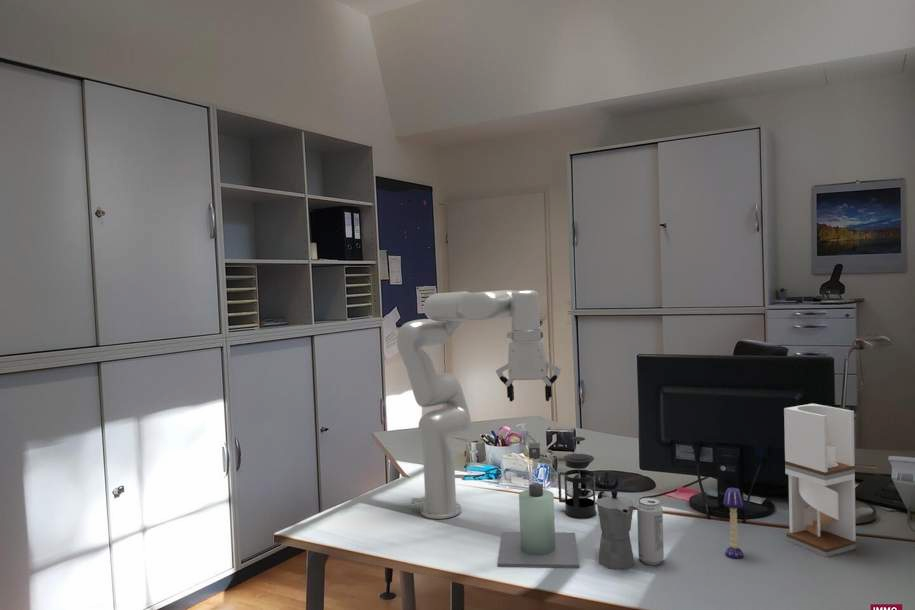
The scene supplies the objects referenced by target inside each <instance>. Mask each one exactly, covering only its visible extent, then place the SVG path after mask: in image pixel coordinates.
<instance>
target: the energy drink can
mask: <svg viewBox="0 0 915 610" xmlns="http://www.w3.org/2000/svg"><path fill="white" fill-rule="evenodd" d="M636 510H637V511H636V512H637V516H636V517H637V545H638V546H637V547H638V549H637V551H638V558H639V559H640V561H641V562H642V563H643V564H647V565H653V566H655V565H659V564H661V563H662V561H663V560H664V559H665V555H664V554H665V553H664V548H665V547H664V521H663V520H664V519H663V518H664V517H663V515H664V513H663V507H662V505H661V503H660V500H659V499H658V498H653V497H642V498H641V499H639V502H638V505H637V508H636Z"/></svg>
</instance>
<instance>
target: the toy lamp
mask: <svg viewBox="0 0 915 610" xmlns="http://www.w3.org/2000/svg"><path fill="white" fill-rule="evenodd" d="M723 505H724V506H725V507H728V508H729V511H730V512H729V522H730V524H729V529H730V531H729V534H730V537H729V538H730V540H729V541H730V546H729V547H727V548H726V549H725V553H724V554H725V556H726V558H727V557H728V558H730V559H737V560H738V559H742V558H744V552H743V550H741V548H739V544H738V543H739V542H738V540H739V537H738V535H739V531H738V512H737V511H738V509H740V508H743V507H744V500H743V497H742V494H741V491H740V489H739V488H737V487H729V488H728V487H727V489H726V490H725V494H724V499H723Z"/></svg>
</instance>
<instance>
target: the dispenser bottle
mask: <svg viewBox="0 0 915 610" xmlns="http://www.w3.org/2000/svg"><path fill="white" fill-rule="evenodd" d="M543 486H544V485H543V484H542V483H536V482H535V483H530V484H529V485H528V489H524V490H522V491H521V492H519V494H518V503H519V504H518V506H519V507H518V509H519V530H520V531H502V532H501V538H500V544H499V550H498V557H497V563H496V565H497V567H501V568H503V567H504V568H508V567H509V568H546V569H547V568H551V569H552V568H553V569H556V568H557V569H579V568H580V564H579V556H578V555H579V553H578V548H577V539H576V533H575V532H565V531H563V532H559V531H558V532H557V531H555V530H556V528H555V502H554V501H555V500H554V498H555V497H554V493H553V492H552V491H550V490H548V489H544V487H543Z"/></svg>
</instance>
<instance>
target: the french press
mask: <svg viewBox="0 0 915 610" xmlns="http://www.w3.org/2000/svg"><path fill="white" fill-rule="evenodd" d="M570 440H571V441H574V442H575V441H576V444H577V453H569V454H566V455H565V456H563V460H564V461H565V463H564V465H565V467H567V468H571V469H570V470H566V471H560V472H558V474H557V480H558V482H557V483H558V502H559V503H563V504H564V505H565V510H564V514H565V516H567V517H568V518H571V519H577V520H578V519H579V520H585V519H592V518H594V517H596V516H597V512H598V511H597V510H596V506H597V503H596V483H595V482H596V481H595V479H596V477H595V472H593V471H592V470H587V468H588V467H589V465H590V464H591V463H592V462H593V461H594V460H595V457H594V456H593V455H591V454H586V453H580V444H581V442H583V441H586V438H585V437H583V436H573V437H570ZM570 475H578V478H577V477H570ZM562 476H564V477H563V479H564V499H562V479H561V477H562ZM587 476H589V477H587ZM568 482H569V483H572V488H568ZM590 482H592V489H590V488H587V483H590ZM568 497H569V498H568Z"/></svg>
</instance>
